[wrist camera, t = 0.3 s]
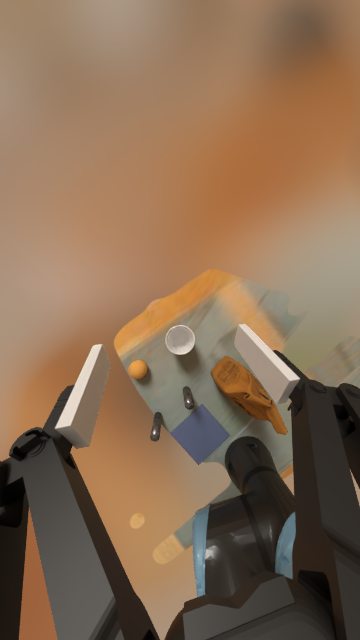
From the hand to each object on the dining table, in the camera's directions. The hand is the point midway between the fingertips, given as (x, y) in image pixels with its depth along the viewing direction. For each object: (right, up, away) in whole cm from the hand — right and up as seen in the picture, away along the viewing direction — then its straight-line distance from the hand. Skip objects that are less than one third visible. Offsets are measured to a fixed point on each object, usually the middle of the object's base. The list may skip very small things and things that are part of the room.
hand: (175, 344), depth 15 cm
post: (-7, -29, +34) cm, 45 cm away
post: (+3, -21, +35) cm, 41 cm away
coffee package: (+17, -16, +36) cm, 43 cm away
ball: (-12, -13, +31) cm, 36 cm away
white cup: (0, -3, +35) cm, 35 cm away
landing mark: (+7, -35, +35) cm, 50 cm away
